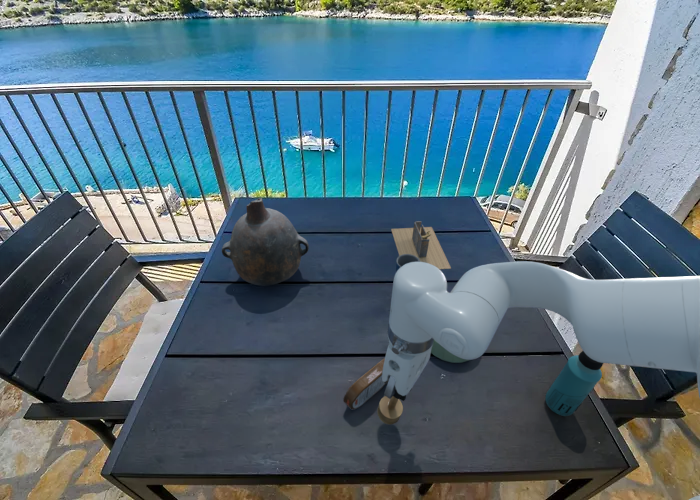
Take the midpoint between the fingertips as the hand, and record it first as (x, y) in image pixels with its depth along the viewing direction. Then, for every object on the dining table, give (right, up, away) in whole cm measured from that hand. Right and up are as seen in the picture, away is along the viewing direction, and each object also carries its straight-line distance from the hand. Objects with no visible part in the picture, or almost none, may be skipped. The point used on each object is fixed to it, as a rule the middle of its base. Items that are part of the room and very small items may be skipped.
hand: (400, 390), depth 67 cm
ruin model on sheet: (+16, +28, +61) cm, 69 cm away
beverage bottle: (+39, -9, +14) cm, 42 cm away
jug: (-36, +19, +49) cm, 64 cm away
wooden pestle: (-1, -8, +8) cm, 11 cm away
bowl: (+18, +3, +29) cm, 34 cm away
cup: (+7, +12, +41) cm, 43 cm away
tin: (-5, -7, +17) cm, 19 cm away
